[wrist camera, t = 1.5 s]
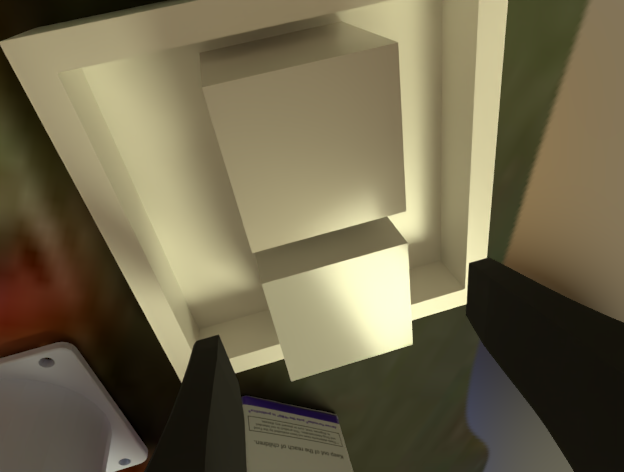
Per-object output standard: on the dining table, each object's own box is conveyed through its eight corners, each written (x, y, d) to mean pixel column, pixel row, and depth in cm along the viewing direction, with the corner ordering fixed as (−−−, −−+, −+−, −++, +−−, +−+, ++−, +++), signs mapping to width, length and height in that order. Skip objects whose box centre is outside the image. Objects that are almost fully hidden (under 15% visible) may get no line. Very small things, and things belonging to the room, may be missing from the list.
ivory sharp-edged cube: (238, 184, 14) (252, 253, 10) (199, 52, 11) (201, 87, 8) (356, 154, 14) (406, 211, 11) (341, 21, 12) (398, 42, 9)
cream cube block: (271, 298, 16) (291, 381, 13) (245, 210, 14) (261, 283, 11) (370, 270, 17) (412, 344, 14) (359, 180, 15) (407, 243, 11)
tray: (185, 338, 17) (184, 388, 15) (35, 27, 11) (-2, 41, 9) (451, 261, 18) (483, 298, 16) (458, -61, 12) (513, -66, 10)
